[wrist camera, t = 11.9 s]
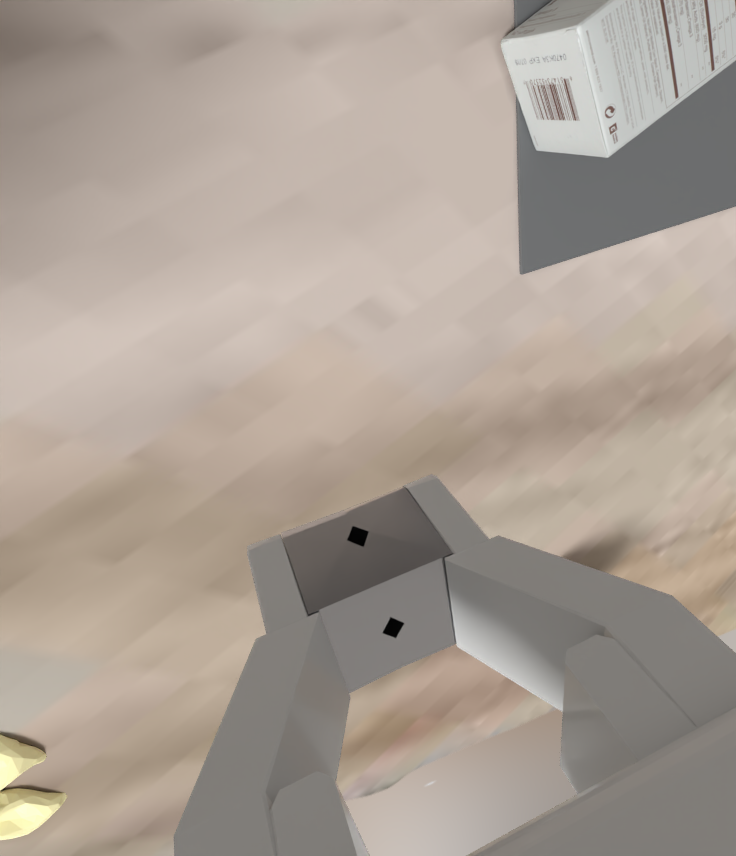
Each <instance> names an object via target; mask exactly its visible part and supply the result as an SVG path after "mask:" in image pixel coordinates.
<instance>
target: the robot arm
mask: <svg viewBox="0 0 736 856" xmlns="http://www.w3.org/2000/svg"><path fill="white" fill-rule="evenodd" d="M281 535H282V537H281ZM282 538H283V539H282ZM247 555H248V559H249V563H250V567H251V572H252V576H253V580H254V584H255V588H256V592H257V597H258V601H259V605H260V609H261V613H262V617H263V622H264V626H265V630H266V635H263V636H261V637H259V638H257V639H256V640H255V642H254V645H253V647H252V650H251V652H250V654H249V657H248V659H247V662H246V664H245V666H244V669H243V671H242V674H241V676H240V678H239V681H238V683H237V686H236V688H235V690H234V693H233V695H232V698H231V700H230V702H229V705H228V707H227V710H226V712H225V714H224V717H223V719H222V722H221V724H220V726H219V729H218V731H217V733H216V736H215V738H214V741H213V743H212V745H211V748H210V750H209V753H208V755H207V757H206V760H205V762H204V765H203V767H202V769H201V772H200V774H199V777H198V779H197V781H196V784H195V786H194V789H193V791H192V793H191V796H190V798H189V801H188V803H187V805H186V808H185V810H184V813H183V815H182V817H181V820H180V822H179V825H178V827H177V829H176V832H175V834H174V856H370V855H369V853H368V851H367V849H366V846H365V844H364V842H363V840H362V838H361V835H360V833H359V831H358V829H357V827H356V825H355V823H354V820H353V818H352V816H351V814H350V812H349V810H348V807H347V805H346V803H345V801H344V799H343V796H342V794H341V792H340V790H339V788H338V786H337V783H336V778H337V772H338V767H339V761H340V755H341V749H342V743H343V737H344V732H345V726H346V720H347V714H348V708H349V703H350V694H349V693H351V692H353V691H355V690H357V689H359V688H361V687H363V686H365V685H367V684H369V683H371V682H373V681H375V680H377V679H379V678H381V677H383V676H385V675H387V674H389V673H391V672H393V671H395V670H397V669H399V668H401V667H403V666H406V665H408V664H410V663H413V662H415V661H417V660H420V659H422V658H424V657H426V656H429V655H431V654H433V653H436V652H438V651H440V650H443V649H445V648H447V647H450V646H452V645H454V644H457V647H458V648H460V649H462V650H463V651H465V652H467V653H468V654H470V655H471V656H473V657H475V658H476V659H478V660H479V661H481V662H483V663H484V664H486V665H488V666H489V667H491V668H492V669H494V670H496V671H497V672H499V673H500V674H502V675H504V676H505V677H507V678H509V679H510V680H512V681H513V682H515V683H517V684H518V685H520V686H521V687H523V688H525V689H526V690H528V691H530V692H531V693H533V694H534V695H536V696H538V697H539V698H541V699H542V700H544V701H546V702H547V703H549V704H551V705H552V706H554V707H555V708H557V709H559V710H560V711H562V712H563V717H562V718H563V719H562V737H561V739H562V740H561V759H560V767H561V769H562V770H563V772H564V774H565V775H566V777H567V778H568V780H569V781H570V783H571V785H572V786H573V788H574V789H575V791H576V793H577V795H575V796H574V797H572V798H570V799H568V800H566V801H565V802H563V803H561V804H559V805H557V806H555V807H554V808H552V809H550V810H548V811H547V812H545V813H543V814H541V815H539V816H537V817H536V818H534V819H532V820H531V821H529V822H527V823H525V824H523V825H521V826H519V827H518V828H516V829H514V830H512V831H510V832H508V833H507V834H505V835H503V836H501V837H499V838H498V839H496V840H494V841H492V842H491V843H489V844H487V845H485V846H483V847H481V848H480V849H478V850H476V851H474V852H472V853H470V854H469V855H467V856H736V653H735V652H734V651H733V650H732V649H730V648H729V647H728V646H727V645H726V644H725V643H724V642H723V641H722V640H721V639H719V638H718V637H717V636H716V635H715V634H714V633H713V632H712V631H711V630H710V629H708V628H707V627H706V626H705V625H704V624H703V623H702V622H701V621H700V620H698V619H697V618H696V617H695V616H694V615H693V614H692V613H691V612H690V611H688V610H687V609H686V608H685V607H684V606H683V605H682V604H681V603H680V602H679V601H677V600H676V599H675V598H674V597H673V596H672V595H669V594H666V593H663V592H660V591H657V590H654V589H652V588H649V587H646V586H643V585H640V584H637V583H634V582H631V581H628V580H626V579H623V578H620V577H617V576H614V575H611V574H608V573H605V572H602V571H600V570H597V569H594V568H591V567H588V566H585V565H582V564H579V563H576V562H574V561H571V560H568V559H565V558H562V557H559V556H556V555H553V554H550V553H548V552H545V551H542V550H539V549H536V548H533V547H530V546H527V545H524V544H522V543H519V542H516V541H513V540H510V539H507V538H504V537H501V536H496V537H494V538H491V539H489V538H488V537H487V536H486V535H485V533H484V532H483V531H482V530H481V529H480V527H479V526H478V525H477V524H476V523H475V521H474V520H473V519H472V518H471V517H470V515H469V514H468V513H467V512H466V511H465V509H464V508H463V507H462V506H461V505H460V503H459V502H458V501H457V500H456V499H455V497H454V496H453V495H452V494H451V493H450V491H449V490H448V489H447V488H446V487H445V485H444V484H443V483H442V482H441V481H440V479H439V478H438V477H437V476H435V475H433V474H430V475H428V476H426V477H423V478H421V479H418V480H416V481H413V482H411V483H409V484H406V485H404V486H403V487H400V488H398V489H395V490H393V491H390V492H388V493H385V494H383V495H380V496H378V497H375V498H373V499H370V500H368V501H365V502H363V503H360V504H357V505H355V506H352V507H350V508H347V509H345V510H343V511H340V512H337V513H334V514H332V515H329V516H326V517H323V518H321V519H318V520H315V521H312V522H310V523H307V524H304V525H301V526H299V527H296V528H293V529H290V530H288V531H285V532H282V533H281V534H278V535H276V536H273V537H270V538H267V539H265V540H262V541H259V542H256V543H254V544H251V545H248V546H247Z"/></svg>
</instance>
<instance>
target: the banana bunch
mask: <svg viewBox="0 0 736 856" xmlns="http://www.w3.org/2000/svg"><path fill="white" fill-rule="evenodd" d="M46 757H47V756H46V753H44V752H43V751H42V750H40V749H38V748H36V747H33V746H29V745H27V744H23V743H20V742H18V741H17V740H14V739H11V738H8V737H5V736H3V735H1V734H0V790H2V789H3V788H5V787H6V786H7V785H8V784H9V783H11V782H12V781H13V780H14V779H16V778H17V777H18V776H19V775H20V774H22V773H23V772H24V771H26V770H27V769H29V768H31V767H32V766H34V765H36V764H38V763H41V762H43V761H44V760H45V759H46ZM66 798H67V795H66V794H65V793H47V792H41V791H36V790H30V789H20V788H15V789H7V790H3V791H0V840H4V839H12V838H16V837H20V836H23V835H27V834H29V833H30V832H32V831H34V830H35V829H37V828H38V827H39V826H41V825H42V824H43V823H44V822H45V821H46V820H47V819H49V818H50V817H51V816H52V815H53V814H54V813H55V812H56V811H57V810H58V809H59V808H60V807H61V806H62V805H63V803H64V802H65V800H66Z"/></svg>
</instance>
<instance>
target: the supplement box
mask: <svg viewBox="0 0 736 856" xmlns="http://www.w3.org/2000/svg"><path fill="white" fill-rule="evenodd" d="M501 48H502V51H503V55H504V58H505V61H506V64H507V67H508V69H509V73H510V76H511V79H512V82H513V85H514V88H515V91H516V94H517V97H518V100H519V103H520V106H521V109H522V112H523V115H524V118H525V120H526V123H527V126H528V129H529V132H530V135H531V138H532V141H533V144H534V146H535V149H536V150H537V151H546V152H557V153H567V154H577V155H587V156H597V157H605V158H608V157H610V156H611V155H612V154H614V153H615V152H616V151H617V150H619V149H620V148H621V147H623V146H624V145H625V144H627V143H628V142H629V141H631V140H632V139H633V138H635V137H636V136H637V135H639V134H640V133H641V132H642V131H644V130H645V129H646V128H647V127H649V126H650V125H651V124H653V123H654V122H655V121H657V120H658V119H659V118H660V117H662V116H663V115H664V114H666V113H667V112H668V111H670V110H671V109H672V108H674V107H675V106H676V105H678V104H679V103H680V102H682V101H683V100H684V99H685V98H687V97H688V96H689V95H691V94H692V93H693V92H695V91H696V90H697V89H699V88H700V87H701V86H703V85H704V84H705V83H707V82H708V81H709V80H711V79H712V78H713V77H714V76H716V75H717V74H719V73H720V72H721V71H722V70H724V69H725V68H726V67H728V66H729V65H730V64H732V63H733V62H734V61H736V0H552V1H551V2H550V3H548V4H547V5H546V6H544V7H543V8H542V9H540V10H539V11H538V12H536V13H535V14H534V15H533V16H531V17H530V18H529V19H527V20H526V21H525V22H523V23H522V24H521V25H520V26H518V27H517V28H516V29H514V30H513V31H512V32H511V33H509V34H508V35H507V36H506V37H504V38H503V39H502V41H501Z"/></svg>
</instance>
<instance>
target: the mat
mask: <svg viewBox="0 0 736 856" xmlns="http://www.w3.org/2000/svg"><path fill="white" fill-rule="evenodd" d="M551 1H552V0H514V18H515V29H516V28H517V27H518V26H520V25H521V24H522V23H523V22H525V21H526V20H527V19H529V18H530V17H531V16H533V15H534V14H535V13H536V12H538V11H539V10H540V9H542V8H543V7H544V6H546V5H547V4H548V3H550V2H551ZM516 113H517V160H518V208H519V255H520V274H525V273H528V272H532V271H535V270H538V269H541V268H544V267H547V266H550V265H553V264H557V263H560V262H563V261H566V260H569V259H572V258H575V257H578V256H582V255H585V254H588V253H591V252H594V251H597V250H600V249H604V248H607V247H610V246H613V245H616V244H619V243H622V242H625V241H629V240H632V239H635V238H638V237H641V236H644V235H647V234H650V233H654V232H657V231H660V230H663V229H666V228H669V227H672V226H675V225H679V224H682V223H685V222H688V221H691V220H694V219H697V218H700V217H704V216H707V215H710V214H713V213H716V212H719V211H722V210H726V209H729V208H732V207H735V206H736V61H734V62H733V63H732V64H730V65H729V66H728V67H726V68H725V69H724V70H722V71H721V72H720V73H719V74H717V75H716V76H714V77H713V78H712V79H711V80H709V81H708V82H707V83H705V84H704V85H703V86H701V87H700V88H699V89H697V90H696V91H695V92H693V93H692V94H691V95H689V96H688V97H687V98H685V99H684V100H683V101H682V102H680V103H679V104H678V105H676V106H675V107H674V108H672V109H671V110H670V111H668V112H667V113H666V114H664V115H663V116H662V117H660V118H659V119H658V120H657V121H655V122H654V123H653V124H651V125H650V126H649V127H647V128H646V129H645V130H644V131H642V132H641V133H640V134H639V135H637V136H636V137H635V138H633V139H632V140H631V141H629V142H628V143H627V144H625V145H624V146H623V147H621V148H620V149H619V150H617V151H616V152H615V153H614V154H612V155H611V156H610V157H608V158H605V157H597V156H587V155H577V154H567V153H557V152H546V151H537V150H536V149H535V146H534V144H533V141H532V138H531V135H530V132H529V129H528V126H527V123H526V120H525V118H524V115H523V112H522V109H521V106H520V103H519V100H518V97H517V94H516Z"/></svg>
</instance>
